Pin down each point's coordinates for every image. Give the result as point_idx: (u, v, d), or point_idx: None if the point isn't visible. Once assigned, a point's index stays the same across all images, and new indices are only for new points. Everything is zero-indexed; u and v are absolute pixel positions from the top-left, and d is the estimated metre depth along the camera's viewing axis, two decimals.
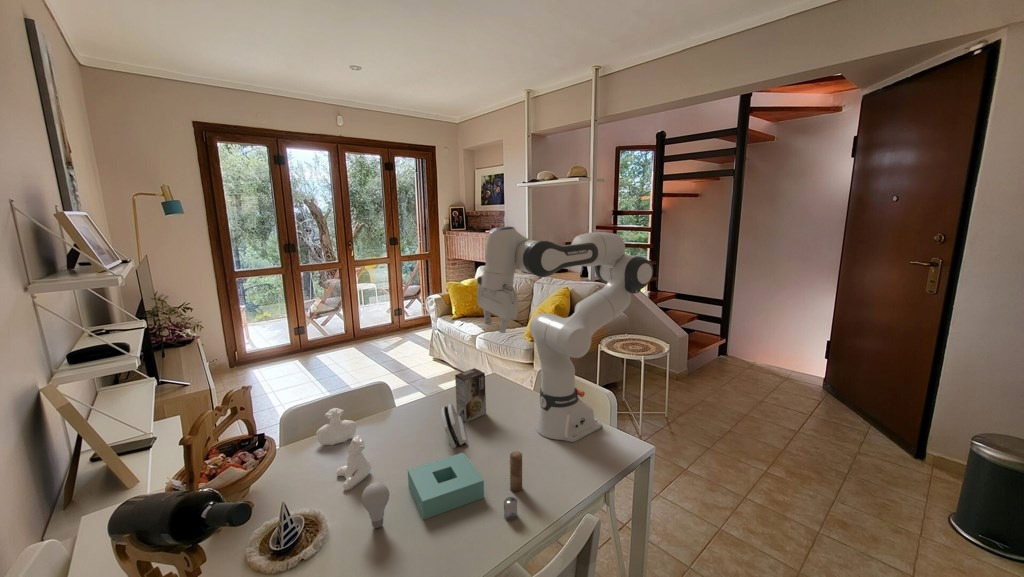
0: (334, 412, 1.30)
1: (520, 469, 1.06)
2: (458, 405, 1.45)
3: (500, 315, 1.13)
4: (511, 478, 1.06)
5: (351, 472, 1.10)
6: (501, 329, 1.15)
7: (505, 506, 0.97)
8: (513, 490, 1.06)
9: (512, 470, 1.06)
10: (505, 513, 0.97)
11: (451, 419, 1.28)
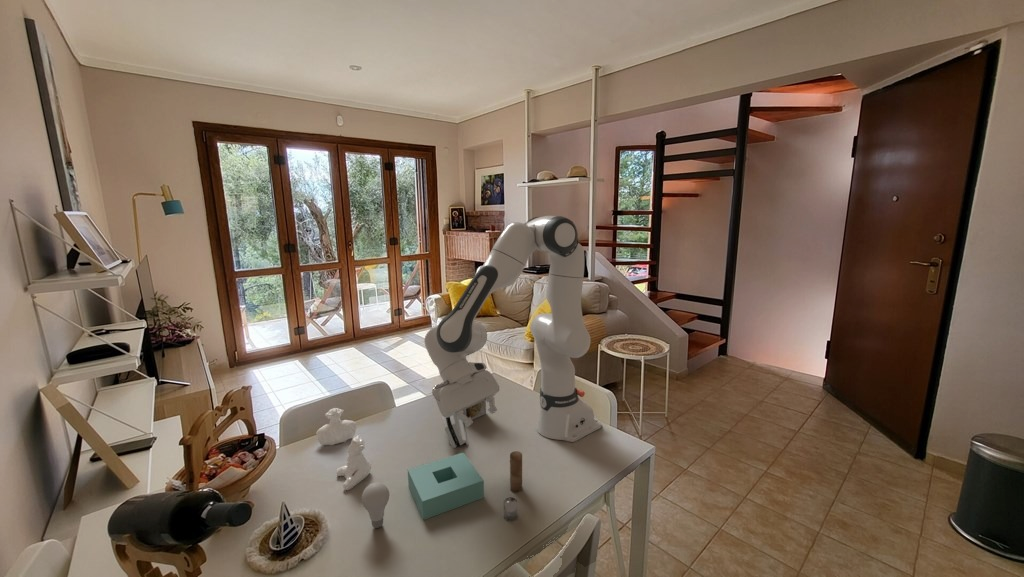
0: (334, 412, 1.30)
1: (520, 469, 1.06)
2: None
3: None
4: (511, 478, 1.06)
5: (351, 472, 1.10)
6: (465, 423, 1.10)
7: (505, 506, 0.97)
8: (513, 490, 1.06)
9: (512, 470, 1.06)
10: (505, 513, 0.97)
11: (451, 419, 1.28)
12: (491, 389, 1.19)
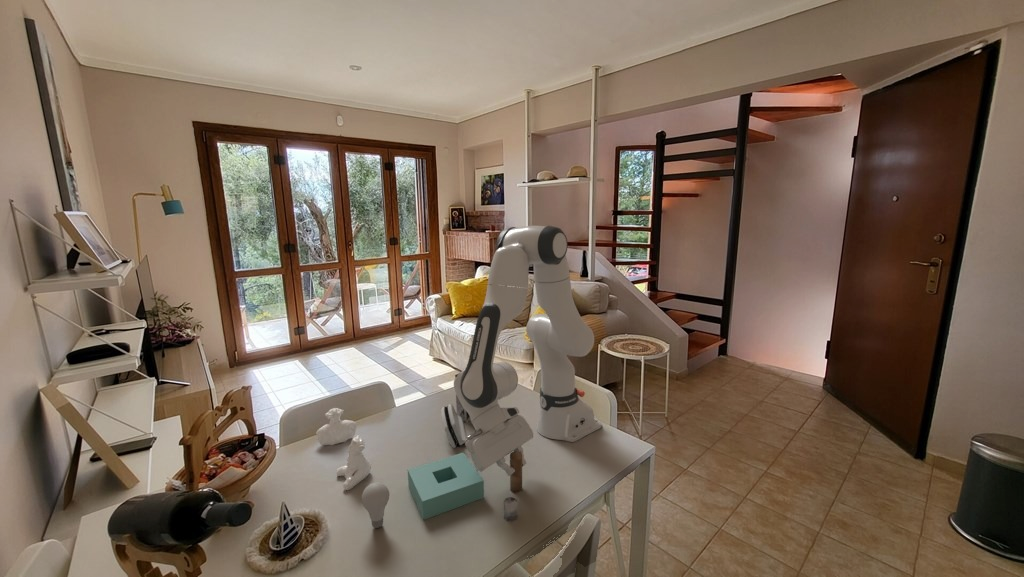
0: (334, 412, 1.30)
1: (520, 469, 1.06)
2: (458, 405, 1.45)
3: None
4: (511, 478, 1.06)
5: (351, 472, 1.10)
6: (507, 472, 1.05)
7: (505, 506, 0.97)
8: (513, 490, 1.06)
9: None
10: (505, 513, 0.97)
11: (451, 419, 1.28)
12: (525, 435, 1.12)
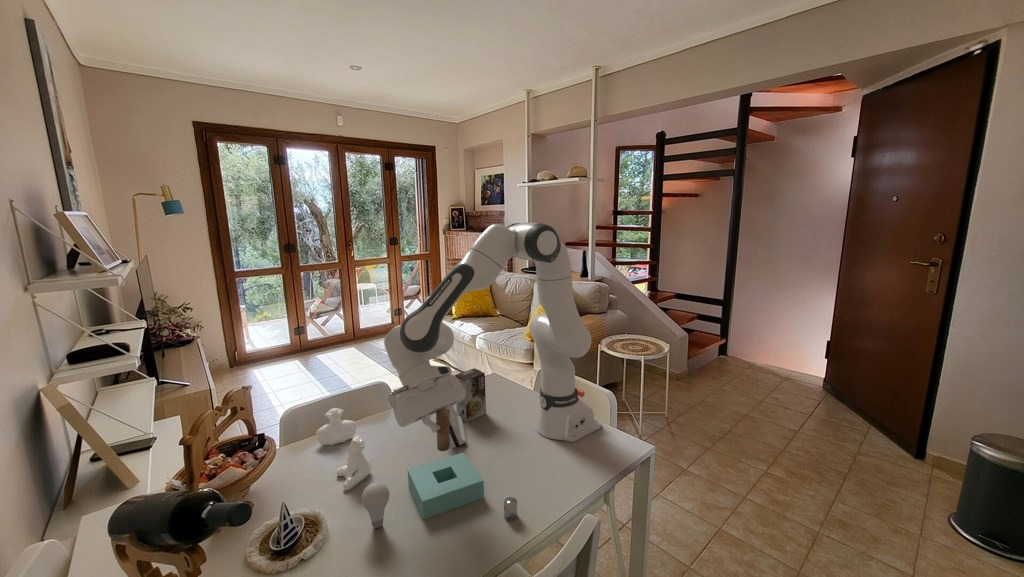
0: (334, 412, 1.30)
1: (446, 426, 1.02)
2: (458, 405, 1.45)
3: None
4: (437, 436, 1.03)
5: (351, 472, 1.10)
6: (432, 429, 1.01)
7: (505, 506, 0.97)
8: (439, 449, 1.03)
9: None
10: (505, 513, 0.97)
11: None
12: (456, 395, 1.09)
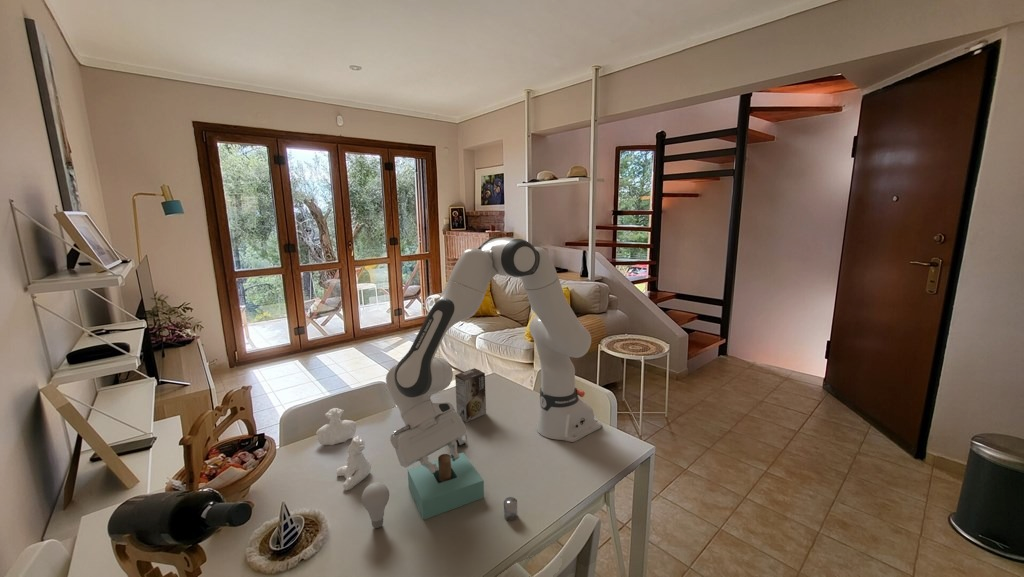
0: (334, 412, 1.30)
1: (448, 472, 1.05)
2: (458, 405, 1.45)
3: None
4: (439, 481, 1.05)
5: (351, 472, 1.10)
6: (429, 470, 1.03)
7: (505, 506, 0.97)
8: None
9: (440, 473, 1.05)
10: (505, 513, 0.97)
11: None
12: (457, 431, 1.11)
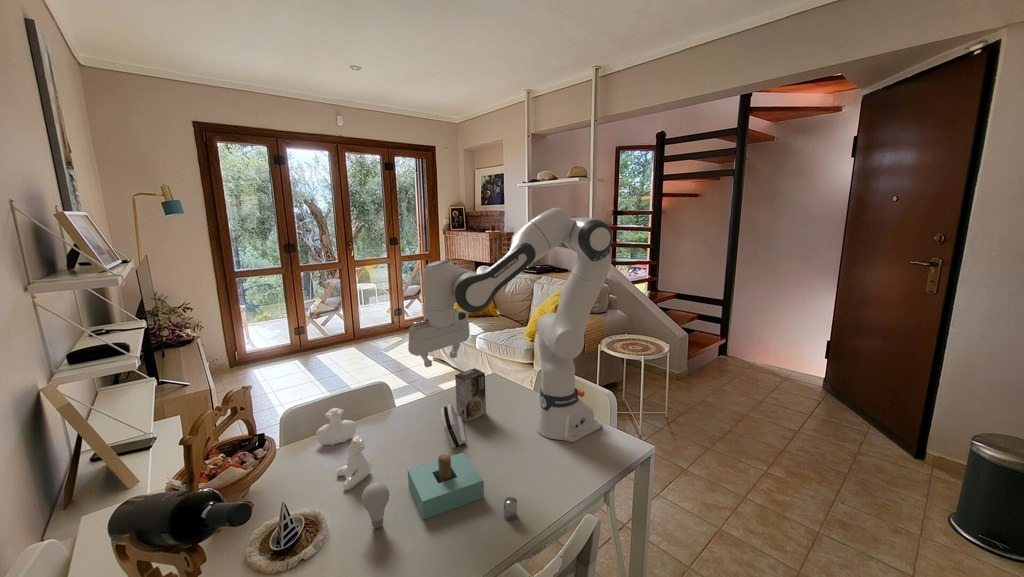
0: (334, 412, 1.30)
1: (448, 472, 1.05)
2: (458, 405, 1.45)
3: None
4: (439, 481, 1.05)
5: (351, 472, 1.10)
6: (424, 363, 1.16)
7: (505, 506, 0.97)
8: None
9: (439, 473, 1.05)
10: (505, 513, 0.97)
11: (450, 419, 1.28)
12: (461, 338, 1.23)
